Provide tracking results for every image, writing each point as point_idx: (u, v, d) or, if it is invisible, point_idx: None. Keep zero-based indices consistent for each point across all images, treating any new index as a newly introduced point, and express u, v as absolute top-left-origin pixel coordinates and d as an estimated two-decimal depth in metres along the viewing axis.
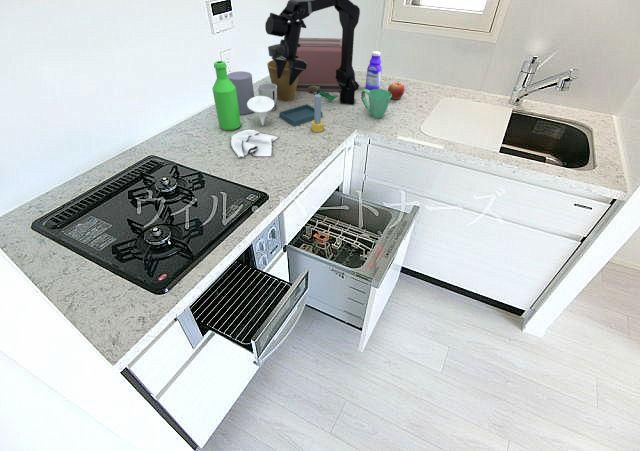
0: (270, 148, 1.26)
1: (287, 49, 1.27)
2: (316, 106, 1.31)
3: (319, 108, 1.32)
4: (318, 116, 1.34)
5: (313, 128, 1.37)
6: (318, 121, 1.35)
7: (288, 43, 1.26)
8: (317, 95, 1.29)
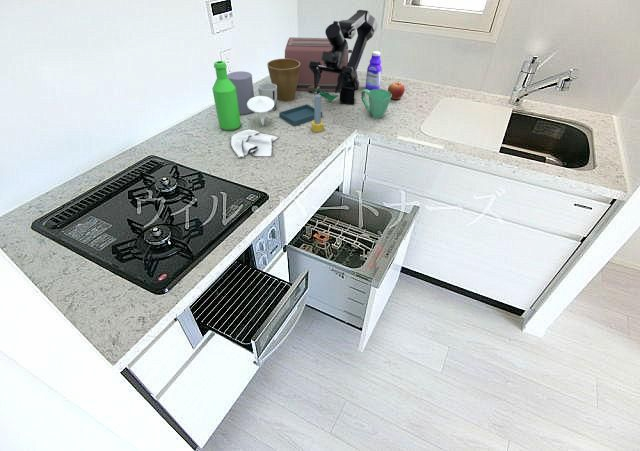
0: (270, 148, 1.26)
1: None
2: (316, 106, 1.31)
3: (319, 108, 1.32)
4: (318, 116, 1.34)
5: (313, 128, 1.37)
6: (318, 121, 1.35)
7: None
8: (317, 95, 1.29)
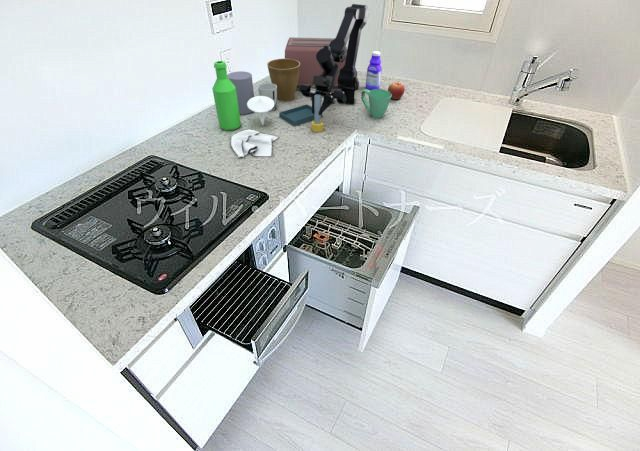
0: (270, 148, 1.26)
1: None
2: (316, 106, 1.31)
3: (319, 108, 1.32)
4: (318, 116, 1.34)
5: (313, 128, 1.37)
6: (318, 121, 1.35)
7: None
8: (317, 95, 1.29)
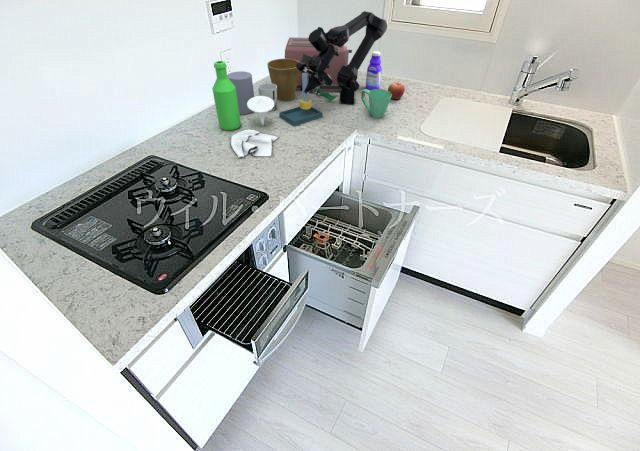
0: (270, 148, 1.26)
1: (319, 63, 1.36)
2: (303, 84, 1.39)
3: (305, 86, 1.39)
4: (304, 94, 1.41)
5: (300, 105, 1.45)
6: (305, 99, 1.43)
7: (322, 59, 1.36)
8: (304, 74, 1.37)
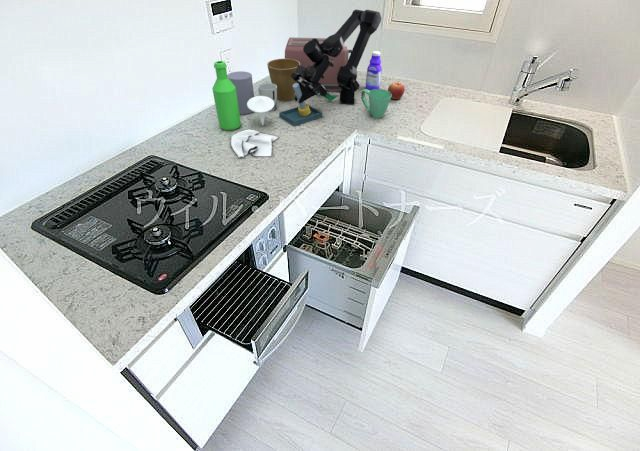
0: (270, 148, 1.26)
1: (314, 74, 1.36)
2: (296, 94, 1.39)
3: (299, 96, 1.39)
4: (300, 103, 1.42)
5: (299, 112, 1.46)
6: (302, 107, 1.44)
7: (316, 69, 1.36)
8: (295, 85, 1.36)
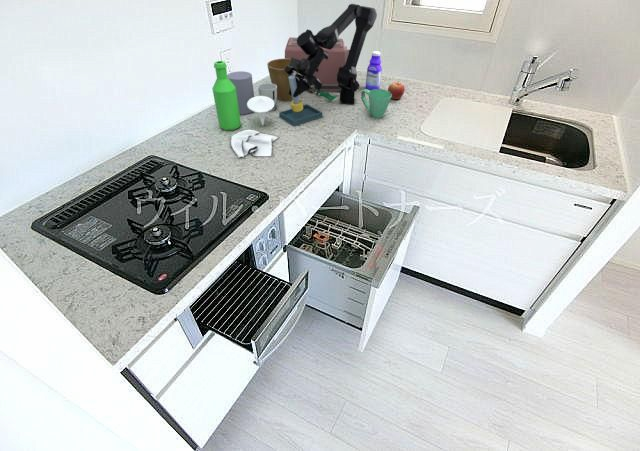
0: (270, 148, 1.26)
1: (308, 67, 1.31)
2: (291, 87, 1.34)
3: (294, 89, 1.35)
4: None
5: None
6: (295, 101, 1.39)
7: (311, 62, 1.32)
8: (291, 77, 1.32)
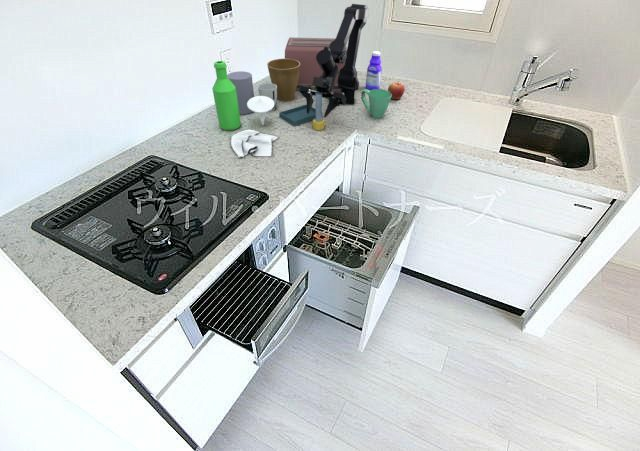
0: (270, 148, 1.26)
1: None
2: (317, 104, 1.33)
3: (320, 106, 1.33)
4: (319, 114, 1.35)
5: (314, 126, 1.38)
6: (319, 119, 1.37)
7: None
8: (318, 94, 1.30)
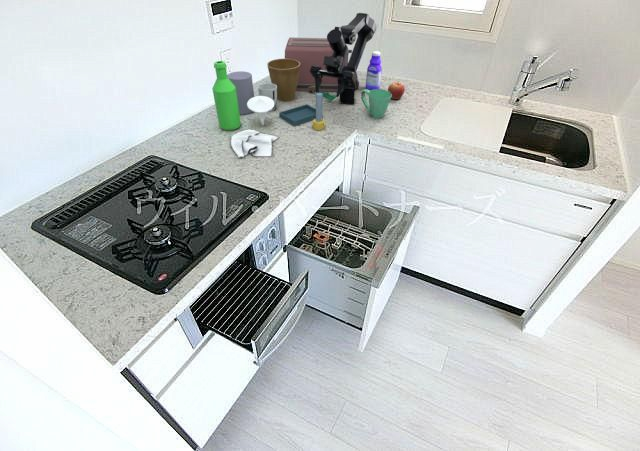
0: (270, 148, 1.26)
1: None
2: (317, 104, 1.33)
3: (320, 106, 1.33)
4: (319, 114, 1.35)
5: (314, 126, 1.38)
6: (319, 119, 1.37)
7: None
8: (319, 94, 1.31)
